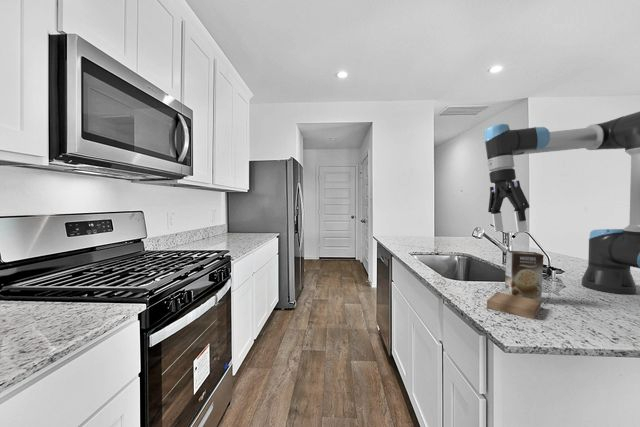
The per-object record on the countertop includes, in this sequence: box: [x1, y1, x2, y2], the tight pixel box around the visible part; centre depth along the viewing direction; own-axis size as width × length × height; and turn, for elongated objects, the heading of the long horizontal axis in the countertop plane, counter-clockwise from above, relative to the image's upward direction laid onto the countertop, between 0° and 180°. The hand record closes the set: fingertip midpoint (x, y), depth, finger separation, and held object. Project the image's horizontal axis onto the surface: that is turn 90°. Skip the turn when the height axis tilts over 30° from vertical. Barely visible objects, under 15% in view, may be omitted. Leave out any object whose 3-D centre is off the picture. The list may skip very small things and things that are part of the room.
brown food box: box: [504, 250, 545, 301], centre depth 100 cm, size 9×6×16 cm
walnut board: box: [486, 291, 542, 320], centre depth 91 cm, size 12×12×2 cm
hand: (509, 231), depth 99 cm, fingers open, 13 cm apart
